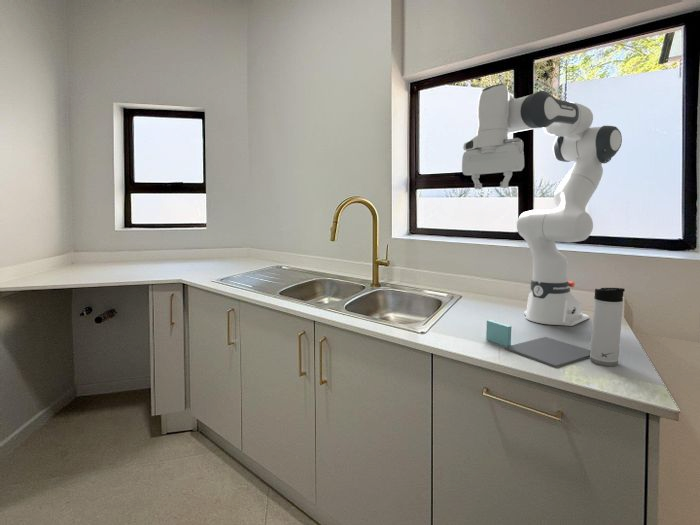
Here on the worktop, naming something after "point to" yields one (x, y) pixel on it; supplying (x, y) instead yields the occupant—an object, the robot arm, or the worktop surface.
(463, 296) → the worktop surface
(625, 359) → the worktop surface
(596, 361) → the travel mug
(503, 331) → the block
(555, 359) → the mat
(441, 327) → the worktop surface
